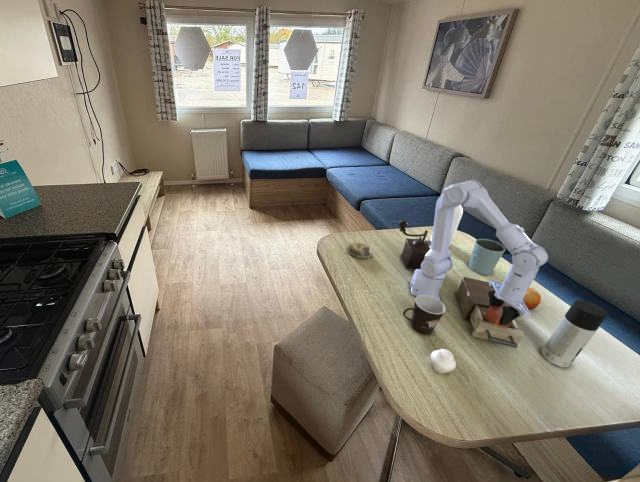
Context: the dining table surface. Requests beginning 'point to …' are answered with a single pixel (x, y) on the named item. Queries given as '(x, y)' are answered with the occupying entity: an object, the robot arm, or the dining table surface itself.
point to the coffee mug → (425, 314)
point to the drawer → (494, 329)
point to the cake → (359, 250)
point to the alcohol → (455, 221)
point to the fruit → (531, 299)
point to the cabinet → (473, 295)
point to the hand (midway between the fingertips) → (497, 318)
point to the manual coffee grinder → (414, 248)
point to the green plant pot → (485, 256)
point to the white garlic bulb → (443, 361)
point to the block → (495, 315)
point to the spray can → (573, 333)
